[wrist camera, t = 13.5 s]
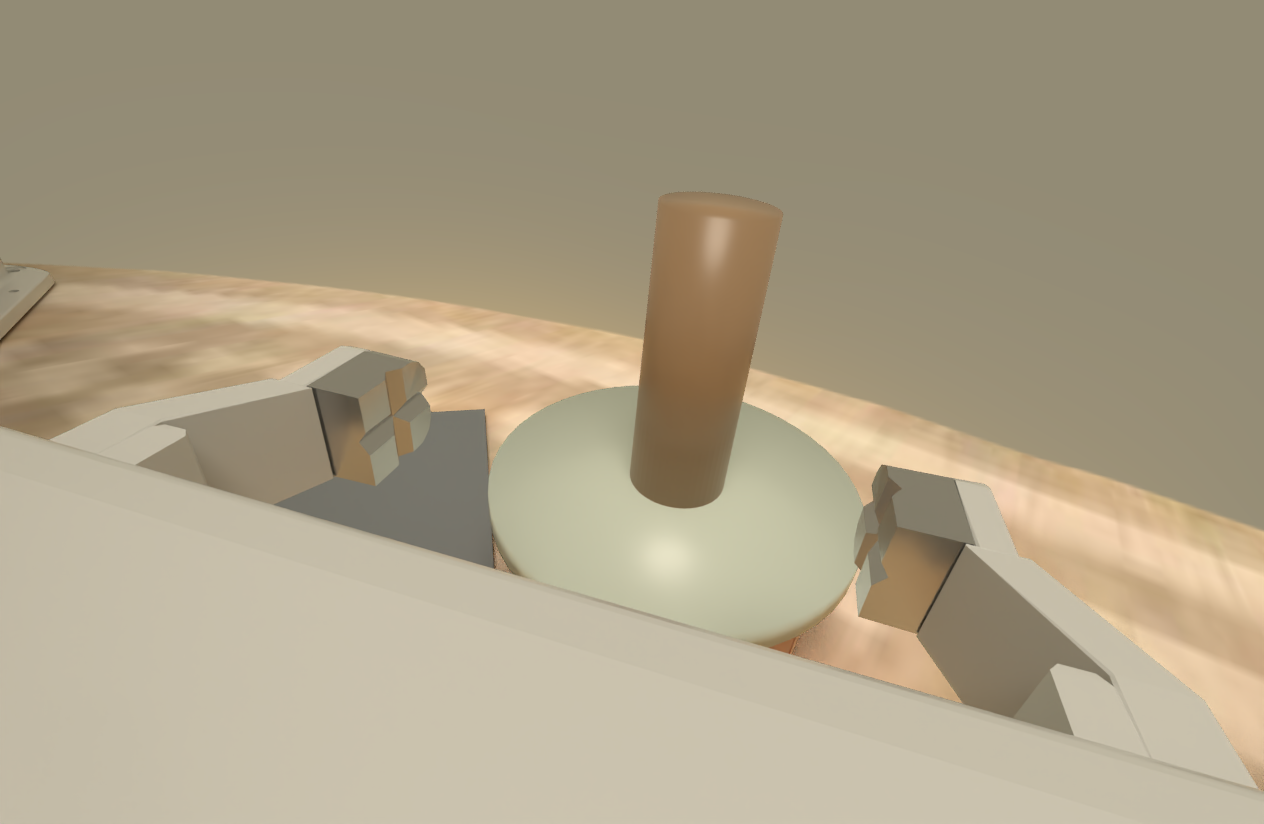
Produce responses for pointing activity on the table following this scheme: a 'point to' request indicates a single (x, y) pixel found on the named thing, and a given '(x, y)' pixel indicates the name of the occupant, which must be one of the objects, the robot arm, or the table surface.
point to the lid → (685, 458)
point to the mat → (421, 493)
